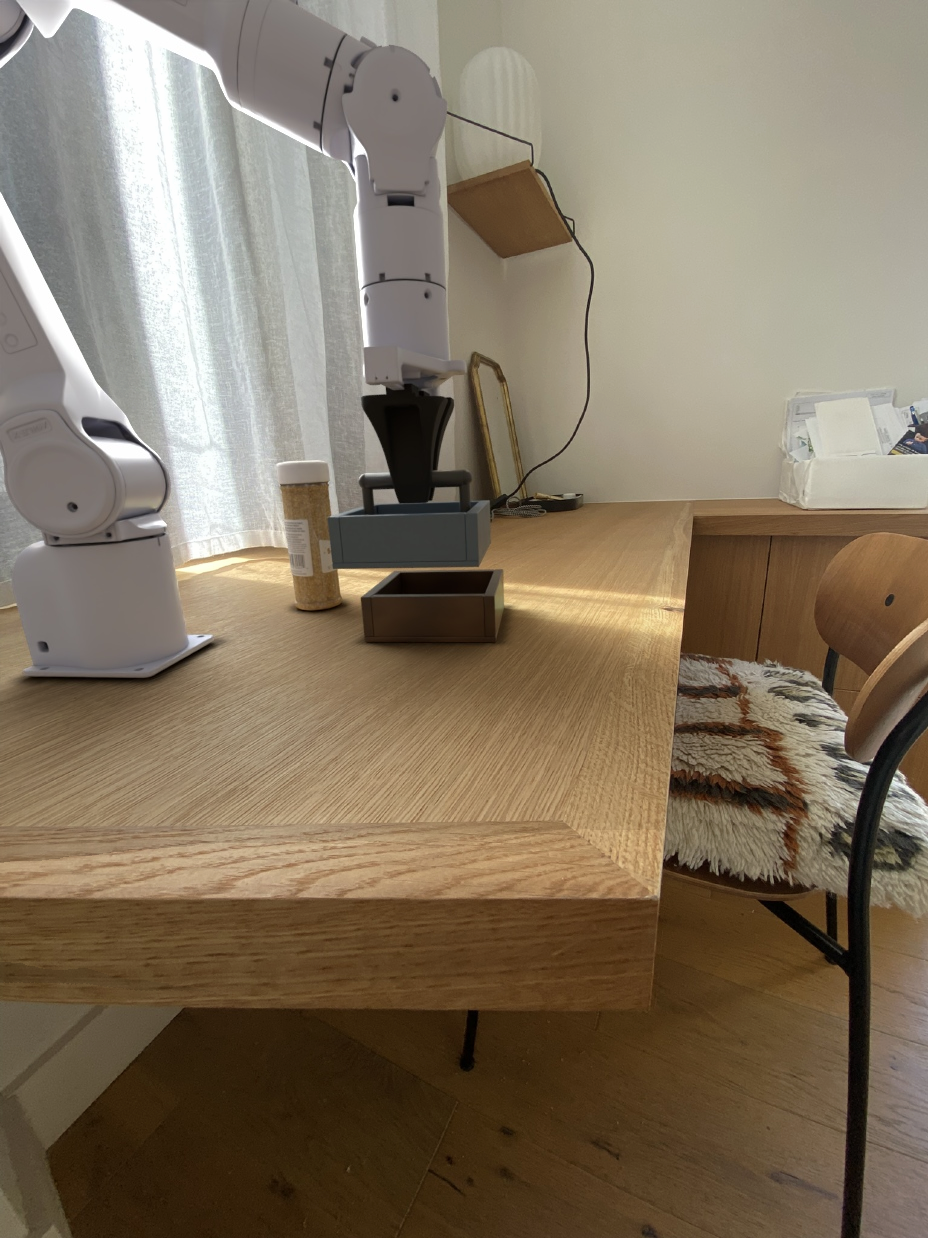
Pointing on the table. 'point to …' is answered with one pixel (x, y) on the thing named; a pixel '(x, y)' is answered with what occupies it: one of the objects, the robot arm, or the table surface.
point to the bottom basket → (435, 606)
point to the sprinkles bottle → (309, 533)
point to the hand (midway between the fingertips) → (416, 502)
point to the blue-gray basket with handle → (412, 528)
